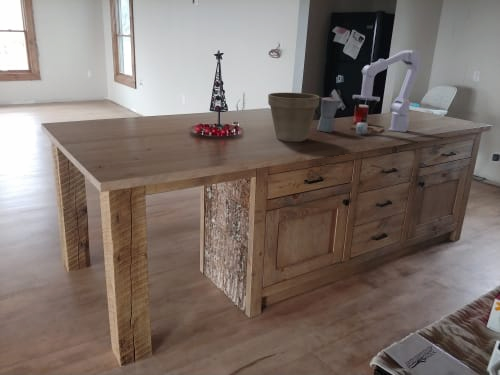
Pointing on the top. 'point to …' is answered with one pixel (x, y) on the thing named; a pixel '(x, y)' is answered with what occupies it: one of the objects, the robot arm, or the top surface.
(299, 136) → the plant pot
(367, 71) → the robot arm
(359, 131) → the grey round flask
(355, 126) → the brown wooden panels
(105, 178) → the top surface
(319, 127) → the moka pot
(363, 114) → the canned food
